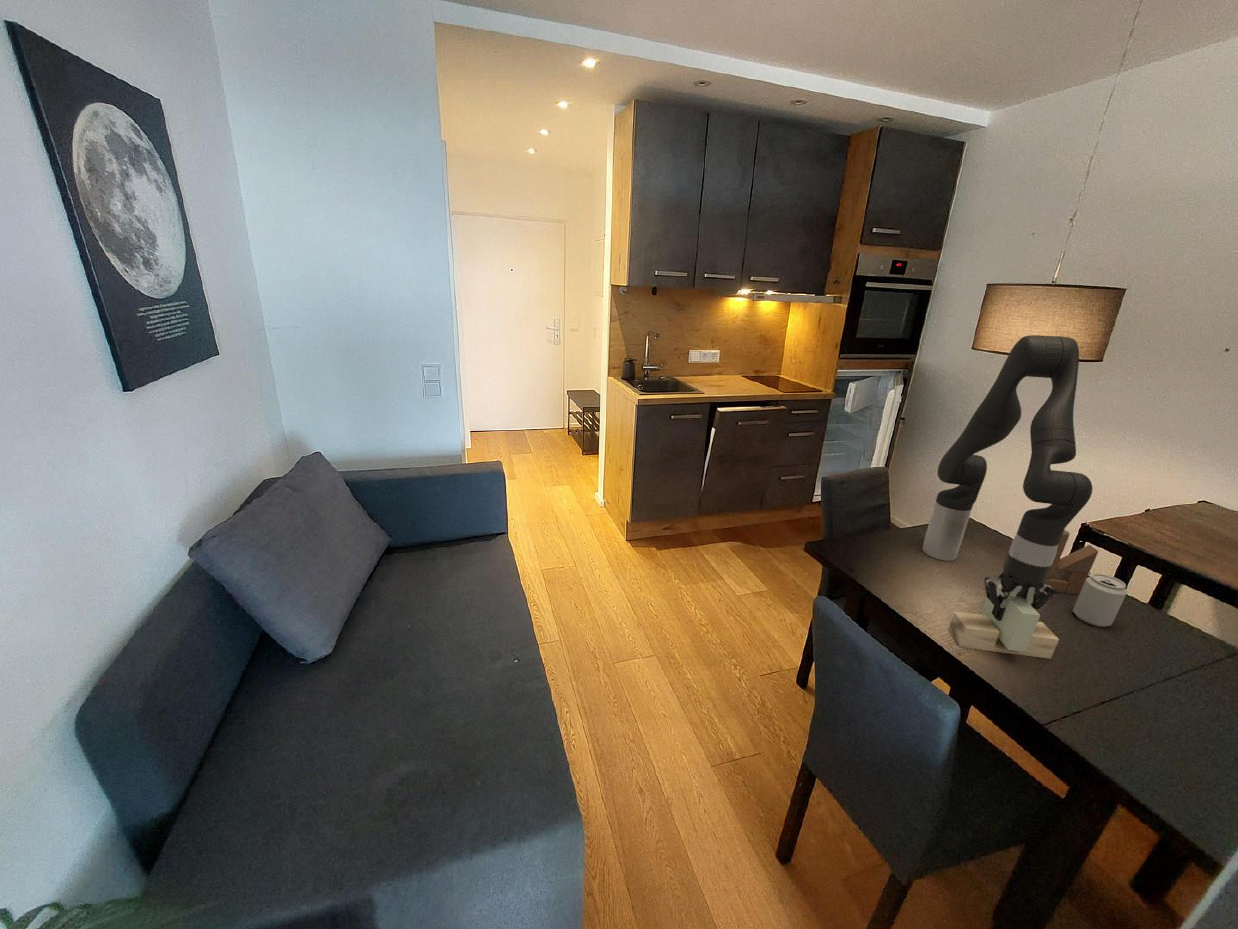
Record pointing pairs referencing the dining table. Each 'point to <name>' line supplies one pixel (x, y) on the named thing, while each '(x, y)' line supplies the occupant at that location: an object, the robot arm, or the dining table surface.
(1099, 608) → the can
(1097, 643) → the dining table surface
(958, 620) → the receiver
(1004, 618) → the sage green tall block
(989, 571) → the dining table surface
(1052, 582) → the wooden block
